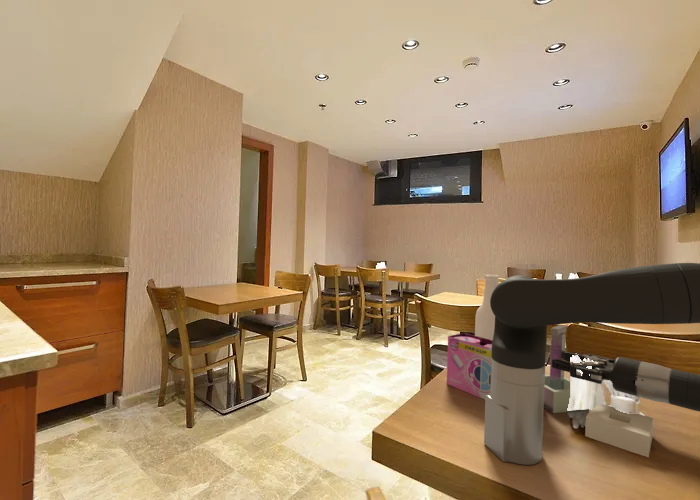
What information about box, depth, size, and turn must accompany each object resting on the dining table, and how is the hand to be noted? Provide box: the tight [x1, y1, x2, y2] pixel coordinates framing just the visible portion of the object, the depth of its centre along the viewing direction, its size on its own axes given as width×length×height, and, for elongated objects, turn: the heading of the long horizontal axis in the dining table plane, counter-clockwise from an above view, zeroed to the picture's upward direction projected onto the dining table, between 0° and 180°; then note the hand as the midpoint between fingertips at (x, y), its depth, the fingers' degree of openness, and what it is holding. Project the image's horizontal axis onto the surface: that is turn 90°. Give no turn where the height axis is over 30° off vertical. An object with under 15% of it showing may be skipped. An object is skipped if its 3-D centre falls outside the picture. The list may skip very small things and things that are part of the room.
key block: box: [584, 403, 654, 459], centre depth 73 cm, size 10×10×4 cm
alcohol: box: [474, 274, 500, 340], centre depth 107 cm, size 9×9×30 cm
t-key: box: [549, 324, 568, 390], centre depth 88 cm, size 6×2×18 cm, turn 131°
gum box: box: [446, 332, 493, 400], centre depth 91 cm, size 24×8×14 cm, turn 37°
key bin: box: [544, 374, 571, 414], centre depth 88 cm, size 10×10×5 cm
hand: (559, 359), depth 88 cm, fingers open, 8 cm apart
